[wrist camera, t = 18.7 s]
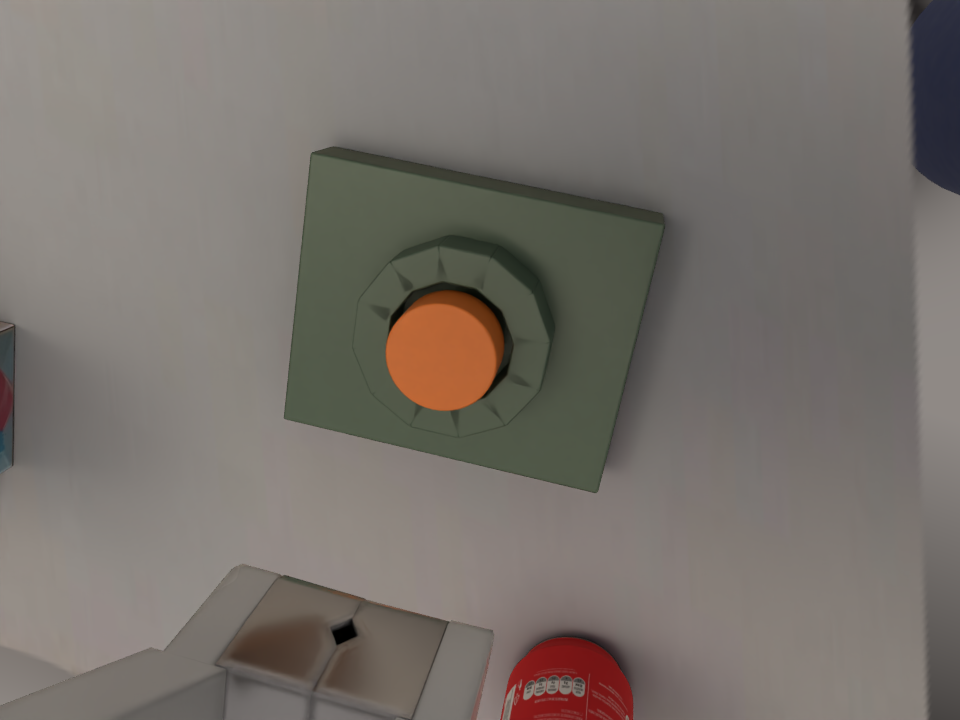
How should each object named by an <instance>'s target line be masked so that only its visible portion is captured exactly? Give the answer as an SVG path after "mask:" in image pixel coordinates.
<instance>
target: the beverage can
mask: <svg viewBox="0 0 960 720" xmlns="http://www.w3.org/2000/svg"><path fill="white" fill-rule="evenodd" d="M500 720H633V696H632V691H631V688H630V685H629V683H628V681H627V679H626V677H625V676H624V674H623V673H622V672H621V669H620V667H619V665H618V663H617V662H616V660H615V659H614V658H613V656H612V655H611V654H610V653H609V652H608V651H606V650H605V649H604V648H602V647H601V646H599V645H598V644H596V643H594V642H592V641H589V640H586V639H583V638H579V637H571V636H562V637H555V638H550V639H547V640H545V641H543V642H541V643H539V644H537V645H536V646H534V647H533V648H532V649H531V650H530V651H529V652H528V653H527V655H526V656H525V657H524V658H523V659H522V660H521V661H520V662H519V663H518V664H517V665H516V666H515V668H514V669H513V671H512V673H511V675H510V678H509V681H508V685H507V690H506V695H505V700H504V704H503V709H502V714H501V719H500Z"/></svg>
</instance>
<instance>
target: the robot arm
mask: <svg viewBox="0 0 960 720" xmlns="http://www.w3.org/2000/svg"><path fill="white" fill-rule="evenodd" d="M493 640H494V633H493V630H489V629H485V628H481V627H476V626H472V625H468V624H464V623H460V622H456V621H450V622H449V621H445V620H442V619H438V618H434V617H430V616H426V615H423V614H419V613H415V612H411V611H407V610H404V609H400V608H396V607H392V606H388V605H385V604H381V603H377V602H373V601H370V600H366V599H364V598H361V597H358V596H354V595H351V594H347V593H344V592H340V591H337V590H334V589H330V588H327V587H323V586H320V585H317V584H313V583H310V582H306V581H303V580H300V579H296V578H293V577H289V576H286V575H283V576H282V575H280V574H278V573H274V572H270V571H267V570H263V569H260V568H256V567H253V566H249V565H245V564H241V565H239V566H236V567H234V568H233V569H231V571H230V572H229V573H228V574H227V575H226V577H225V578H224V579H223V580H222V581H221V583H220V584H219V585H218V586H217V587H216V589H215V590H214V591H213V592H212V593H211V595H210V596H209V597H208V598H207V599H206V601H205V602H204V603H203V604H202V605H201V607H200V608H199V609H198V610H197V611H196V613H195V614H194V615H193V616H192V617H191V619H190V620H189V621H188V622H187V623H186V625H185V626H184V627H183V628H182V629H181V631H180V632H179V633H178V634H177V635H176V637H175V638H174V639H173V640H172V641H171V643H170V644H169V645H168V646H167V647H166V649H165V650H164V651H161V650H158V649H154V648H149V649H146V650H143V651H141V652H138V653H136V654H133V655H130V656H128V657H125V658H123V659H120V660H117V661H115V662H112V663H110V664H107V665H104V666H102V667H99V668H97V669H94V670H91V671H89V672H86V673H84V674H81V675H78V676H76V677H73V678H71V679H68V680H65V681H63V682H60V683H58V684H55V685H52V686H50V687H47V688H45V689H42V690H39V691H37V692H34V693H31V694H29V695H26V696H24V697H21V698H19V699H16V700H13V701H11V702H8V703H6V704H3V705H0V720H476V719H477V714H478V710H479V705H480V700H481V696H482V691H483V687H484V682H485V678H486V673H487V669H488V664H489V659H490V655H491V650H492V646H493Z"/></svg>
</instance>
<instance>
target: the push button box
mask: <svg viewBox="0 0 960 720" xmlns="http://www.w3.org/2000/svg"><path fill="white" fill-rule="evenodd" d="M664 229H665V224H664V218H663V214H662V213H658V212H653V211H648V210H643V209H638V208H633V207H628V206H623V205H618V204H613V203H608V202H604V201H599V200H594V199H589V198H584V197H579V196H574V195H569V194H564V193H559V192H554V191H550V190H545V189H540V188H535V187H530V186H525V185H520V184H515V183H510V182H505V181H500V180H496V179H491V178H486V177H481V176H476V175H471V174H466V173H461V172H456V171H451V170H446V169H441V168H437V167H432V166H427V165H422V164H417V163H412V162H407V161H402V160H397V159H392V158H387V157H383V156H378V155H373V154H368V153H363V152H358V151H353V150H348V149H343V148H338V147H329V148H326V149H322V150H319V151H315V152H312V153H311V157H310V167H309V177H308V187H307V197H306V206H305V216H304V226H303V236H302V245H301V255H300V265H299V275H298V285H297V294H296V304H295V314H294V324H293V334H292V343H291V353H290V363H289V373H288V383H287V392H286V402H285V412H284V419H287V420H291V421H295V422H299V423H304V424H308V425H312V426H316V427H320V428H325V429H329V430H333V431H337V432H341V433H346V434H350V435H354V436H358V437H362V438H367V439H371V440H375V441H379V442H383V443H388V444H392V445H396V446H400V447H404V448H409V449H413V450H417V451H421V452H425V453H430V454H434V455H438V456H442V457H446V458H451V459H455V460H459V461H463V462H467V463H472V464H476V465H480V466H484V467H488V468H493V469H497V470H501V471H505V472H509V473H514V474H518V475H522V476H526V477H530V478H535V479H539V480H543V481H547V482H551V483H556V484H560V485H564V486H568V487H572V488H577V489H581V490H585V491H589V492H593V493H597V492H598V490H599V486H600V482H601V478H602V474H603V470H604V466H605V462H606V458H607V454H608V450H609V446H610V442H611V438H612V434H613V430H614V427H615V423H616V419H617V415H618V411H619V407H620V403H621V399H622V395H623V391H624V387H625V383H626V379H627V375H628V371H629V367H630V363H631V359H632V355H633V351H634V348H635V344H636V340H637V336H638V332H639V328H640V324H641V320H642V316H643V312H644V308H645V304H646V300H647V296H648V292H649V288H650V284H651V280H652V276H653V272H654V269H655V265H656V261H657V257H658V253H659V249H660V245H661V241H662V237H663V233H664ZM441 290H455V291H461V292H464V293H467V294H470V295H472V296H474V297H476V298H478V299H479V300H481V301H482V302H483V303H485V304H486V305H487V306H488V307H489V308H490V309H491V310H492V312H493V313H494V314H495V316H496V317H497V319H498V321H499V323H500V325H501V328H502V331H503V335H504V355H503V359H502V362H501V364H500V366H499V369H498V371H497V373H496V375H495V378H494V380H493V382H492V384H491V386H490V387H489V389H488V390H487V392H486V393H485V394H484V395H483V396H482V397H481V398H480V399H479V400H477V401H476V402H475V403H473V404H471V405H469V406H467V407H464V408H462V409H458V410H452V411H438V410H433V409H429V408H426V407H423V406H421V405H418V404H417V403H415V402H413V401H412V400H410V399H409V398H408V397H406V396H405V395H404V394H403V393H402V392H401V391H400V390H399V388H398V387H397V386H396V384H395V383H394V381H393V380H392V377H391V375H390V373H389V370H388V367H387V363H386V353H385V352H386V343H387V339H388V336H389V333H390V331H391V329H392V327H393V326H394V324H395V323H396V322H397V320H398V319H399V318H400V317H401V316H402V315H403V314H404V313H405V312H406V310H407V309H408V308H409V307H410V306H411V305H412V304H413V303H414V302H415V301H417V300H418V299H419V298H421V297H423V296H424V295H427V294H429V293H432V292H436V291H441Z"/></svg>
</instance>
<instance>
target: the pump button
mask: <svg viewBox="0 0 960 720" xmlns="http://www.w3.org/2000/svg"><path fill="white" fill-rule="evenodd" d="M385 353H386V363H387V367H388V370H389V373H390V375H391V377H392V380H393V381H394V383H395V384H396V386H397V387H398V388H399V390H400V391H401V392H402V393H403V394H404V395H405V396H406V397H408V398H409V399H410V400H412V401H413V402H415V403H417V404H418V405H421V406H423V407H426V408H429V409H433V410H438V411H452V410H458V409H462V408H464V407H467V406H469V405H471V404H473V403H475V402H476V401H477V400H479V399H480V398H481V397H482V396H483V395H484V394H485V393H486V392H487V390H488V389H489V387H490V386H491V384H492V382H493V380H494V378H495V375H496V373H497V371H498V369H499V366H500V364H501V362H502V359H503V355H504V335H503V331H502V328H501V325H500V323H499V321H498V319H497V317H496V316H495V314H494V313H493V312H492V310H491V309H490V308H489V307H488V306H487V305H486V304H485V303H483V302H482V301H481V300H479V299H478V298H476V297H474V296H472V295H470V294H467V293H464V292H461V291H455V290H441V291H436V292H432V293H429V294H427V295H424V296H423V297H421V298H419V299H418V300H417V301H415V302H414V303H413V304H412V305H411V306H410V307H409V308H408V309H407V310H406V312H405V313H404V314H403V315H402V316H401V317H400V318H399V319H398V320H397V322H396V323H395V324H394V326H393V327H392V329H391V331H390V333H389V336H388V339H387V343H386V352H385Z"/></svg>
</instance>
